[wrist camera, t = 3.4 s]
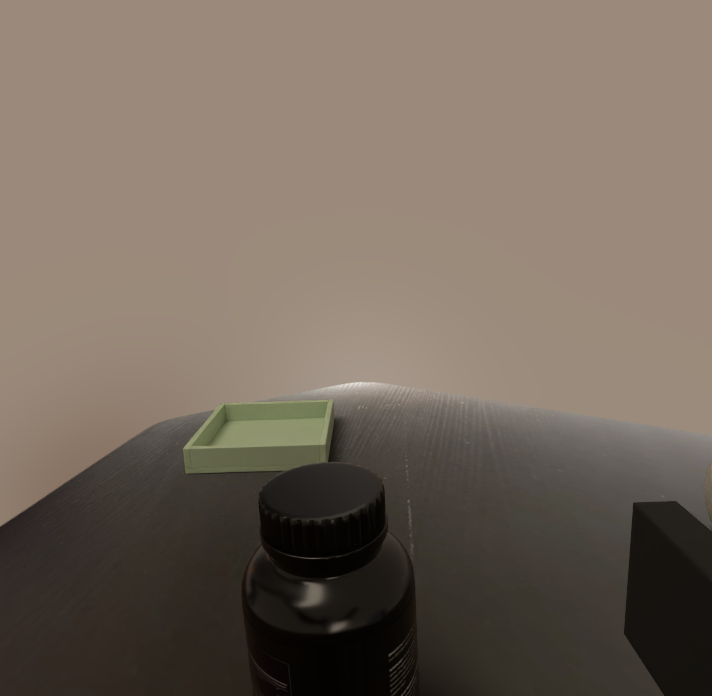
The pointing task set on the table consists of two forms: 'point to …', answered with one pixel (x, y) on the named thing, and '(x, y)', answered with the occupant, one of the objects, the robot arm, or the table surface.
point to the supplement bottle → (329, 589)
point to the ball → (709, 490)
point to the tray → (262, 437)
